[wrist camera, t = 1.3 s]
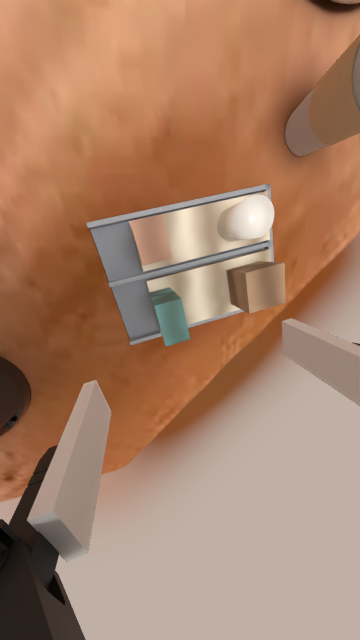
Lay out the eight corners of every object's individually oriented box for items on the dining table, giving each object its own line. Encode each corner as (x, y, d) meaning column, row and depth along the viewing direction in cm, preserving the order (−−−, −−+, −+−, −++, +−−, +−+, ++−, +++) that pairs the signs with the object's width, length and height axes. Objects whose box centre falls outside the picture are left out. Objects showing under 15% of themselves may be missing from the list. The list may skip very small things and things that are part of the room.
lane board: (131, 340, 32) (130, 345, 31) (89, 225, 26) (86, 222, 24) (268, 299, 36) (275, 301, 34) (261, 187, 29) (270, 183, 27)
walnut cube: (230, 304, 31) (249, 313, 26) (226, 270, 29) (245, 273, 24) (261, 295, 32) (285, 302, 26) (259, 261, 30) (284, 262, 25)
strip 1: (143, 270, 28) (146, 277, 19) (129, 223, 26) (125, 206, 17) (261, 240, 31) (315, 234, 21) (259, 195, 28) (318, 165, 19)
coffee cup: (317, 176, 30) (468, 109, 17) (265, 161, 28) (391, 70, 14) (338, 100, 28) (542, -57, 14) (283, 77, 25) (461, -138, 12)
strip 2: (159, 328, 32) (169, 358, 23) (145, 279, 29) (150, 291, 20) (265, 297, 34) (313, 312, 25) (262, 249, 31) (315, 246, 22)
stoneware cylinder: (219, 244, 28) (241, 242, 22) (215, 210, 26) (236, 198, 20) (247, 237, 28) (275, 233, 23) (244, 204, 27) (273, 190, 21)
